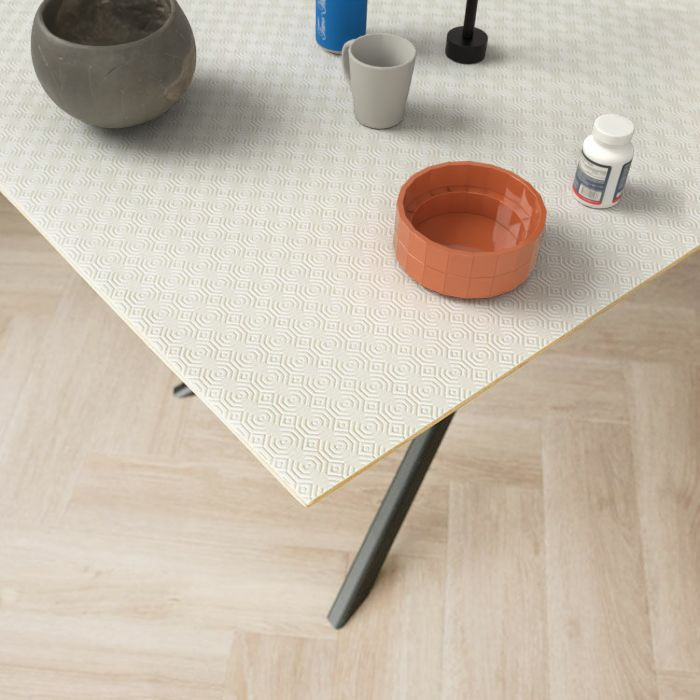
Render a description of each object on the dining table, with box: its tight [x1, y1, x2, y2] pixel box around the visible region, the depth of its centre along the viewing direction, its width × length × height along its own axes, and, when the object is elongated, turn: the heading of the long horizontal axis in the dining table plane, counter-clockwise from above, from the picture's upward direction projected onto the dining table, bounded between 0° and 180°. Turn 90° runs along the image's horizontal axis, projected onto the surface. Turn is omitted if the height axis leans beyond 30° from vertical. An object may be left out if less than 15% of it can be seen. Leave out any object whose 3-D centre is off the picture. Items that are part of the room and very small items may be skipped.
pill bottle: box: [571, 113, 635, 209], centre depth 95 cm, size 5×5×9 cm
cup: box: [340, 32, 418, 130], centre depth 104 cm, size 8×10×8 cm
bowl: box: [30, 0, 198, 129], centre depth 102 cm, size 18×18×13 cm
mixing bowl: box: [392, 160, 548, 300], centre depth 89 cm, size 14×14×6 cm
